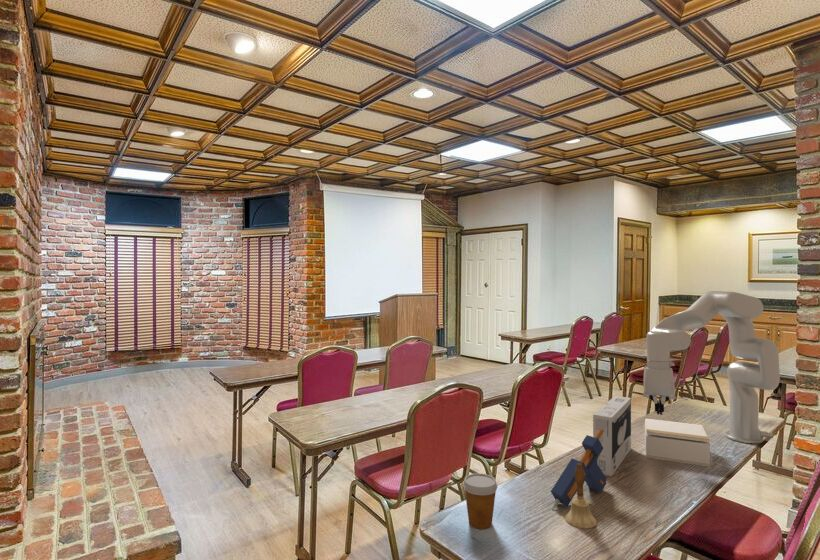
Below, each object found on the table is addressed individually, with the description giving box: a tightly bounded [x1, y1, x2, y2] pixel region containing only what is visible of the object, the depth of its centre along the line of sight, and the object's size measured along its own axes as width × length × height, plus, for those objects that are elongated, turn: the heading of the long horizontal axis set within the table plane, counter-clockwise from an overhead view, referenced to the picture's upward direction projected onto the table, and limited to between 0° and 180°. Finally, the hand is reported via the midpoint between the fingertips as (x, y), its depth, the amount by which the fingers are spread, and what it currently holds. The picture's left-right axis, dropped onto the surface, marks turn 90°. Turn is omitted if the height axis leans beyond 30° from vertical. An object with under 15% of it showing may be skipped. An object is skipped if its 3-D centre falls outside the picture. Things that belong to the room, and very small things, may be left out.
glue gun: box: [550, 429, 607, 511], centre depth 142 cm, size 6×31×15 cm
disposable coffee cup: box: [462, 472, 499, 530], centre depth 126 cm, size 10×10×12 cm
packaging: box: [592, 395, 632, 477], centre depth 169 cm, size 30×6×20 cm, turn 143°
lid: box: [644, 418, 710, 443], centre depth 174 cm, size 20×18×1 cm
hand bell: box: [564, 463, 598, 530], centre depth 127 cm, size 8×8×16 cm
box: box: [644, 422, 711, 468], centre depth 174 cm, size 20×18×8 cm
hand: (659, 413), depth 170 cm, fingers closed
